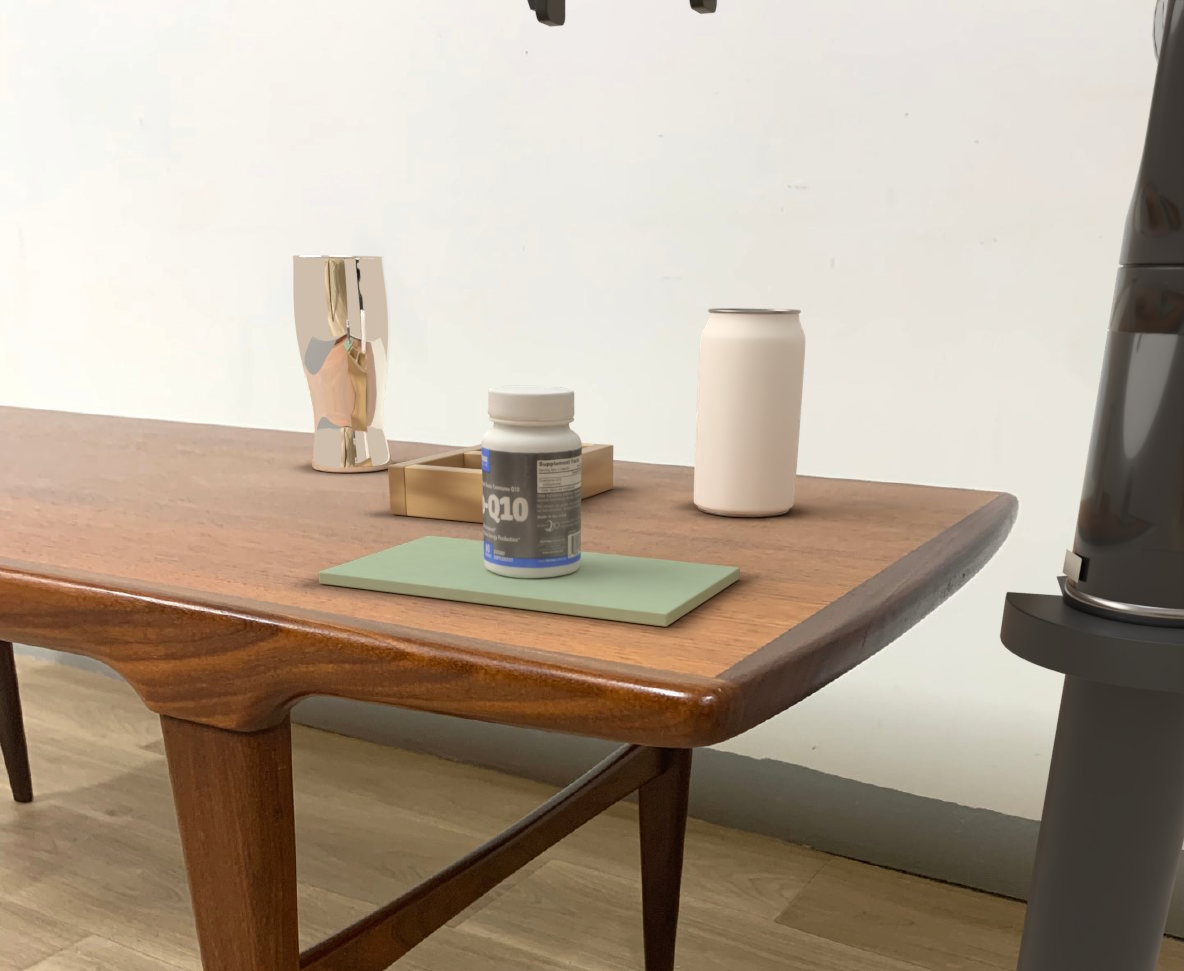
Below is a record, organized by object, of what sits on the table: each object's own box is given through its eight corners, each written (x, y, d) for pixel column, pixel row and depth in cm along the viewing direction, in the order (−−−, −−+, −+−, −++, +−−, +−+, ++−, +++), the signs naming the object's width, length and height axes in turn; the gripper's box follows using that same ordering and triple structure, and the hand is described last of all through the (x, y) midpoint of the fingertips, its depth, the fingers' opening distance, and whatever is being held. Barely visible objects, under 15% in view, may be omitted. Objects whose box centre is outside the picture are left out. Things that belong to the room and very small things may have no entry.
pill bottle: (464, 567, 60) (458, 387, 56) (540, 554, 62) (539, 382, 59) (523, 585, 56) (521, 394, 53) (601, 570, 59) (603, 389, 56)
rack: (613, 488, 86) (613, 444, 85) (508, 526, 73) (508, 474, 72) (508, 480, 89) (507, 437, 88) (390, 514, 76) (387, 465, 75)
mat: (739, 579, 60) (740, 567, 60) (666, 627, 52) (667, 613, 52) (428, 546, 67) (427, 535, 67) (318, 583, 59) (318, 571, 59)
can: (683, 515, 77) (691, 310, 72) (703, 498, 82) (711, 307, 78) (786, 521, 75) (801, 311, 70) (799, 503, 81) (813, 309, 76)
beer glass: (344, 458, 99) (330, 256, 93) (415, 464, 96) (405, 257, 90) (287, 469, 93) (268, 255, 87) (360, 476, 90) (346, 255, 84)
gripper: (801, -383, 57) (778, 21, 63) (530, -328, 62) (534, 39, 69) (753, -466, 51) (732, -8, 57) (456, -397, 56) (467, 15, 62)
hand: (624, 17), depth 63 cm, fingers open, 8 cm apart
